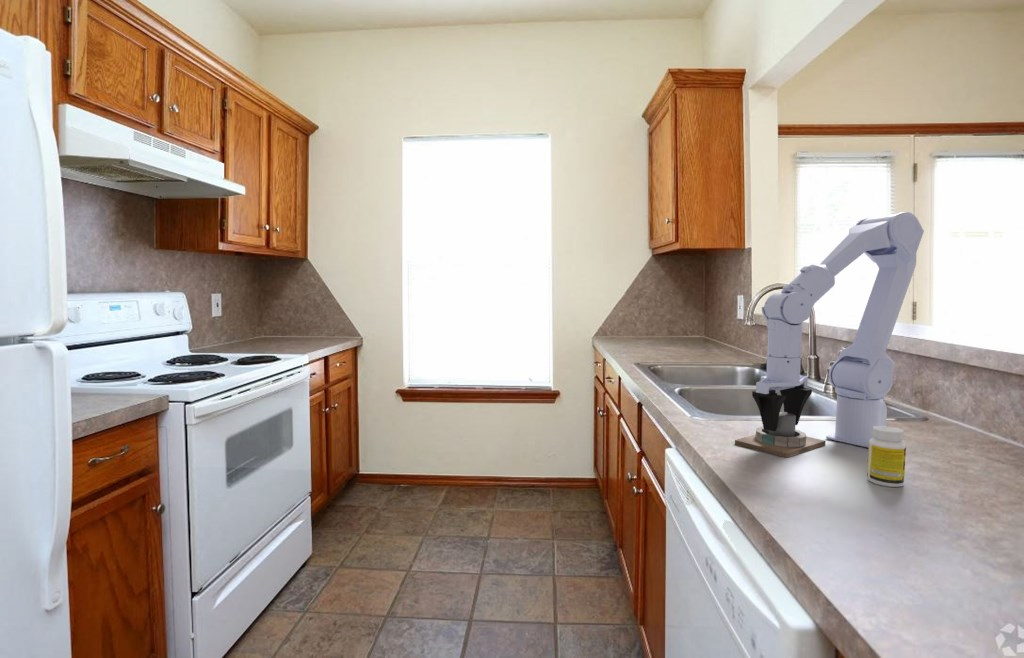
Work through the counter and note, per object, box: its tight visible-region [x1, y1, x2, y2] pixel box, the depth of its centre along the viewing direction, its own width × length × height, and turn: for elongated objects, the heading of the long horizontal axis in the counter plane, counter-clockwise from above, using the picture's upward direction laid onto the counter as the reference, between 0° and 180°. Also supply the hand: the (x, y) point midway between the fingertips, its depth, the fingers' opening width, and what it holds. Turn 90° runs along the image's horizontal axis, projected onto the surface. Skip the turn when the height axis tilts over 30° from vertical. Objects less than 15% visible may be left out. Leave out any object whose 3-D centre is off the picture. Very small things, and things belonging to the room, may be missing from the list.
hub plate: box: [734, 426, 827, 458], centre depth 103 cm, size 14×10×2 cm
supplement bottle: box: [866, 425, 907, 488], centre depth 83 cm, size 5×5×8 cm
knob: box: [769, 411, 796, 437], centre depth 103 cm, size 4×4×5 cm
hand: (780, 426), depth 103 cm, fingers open, 7 cm apart
